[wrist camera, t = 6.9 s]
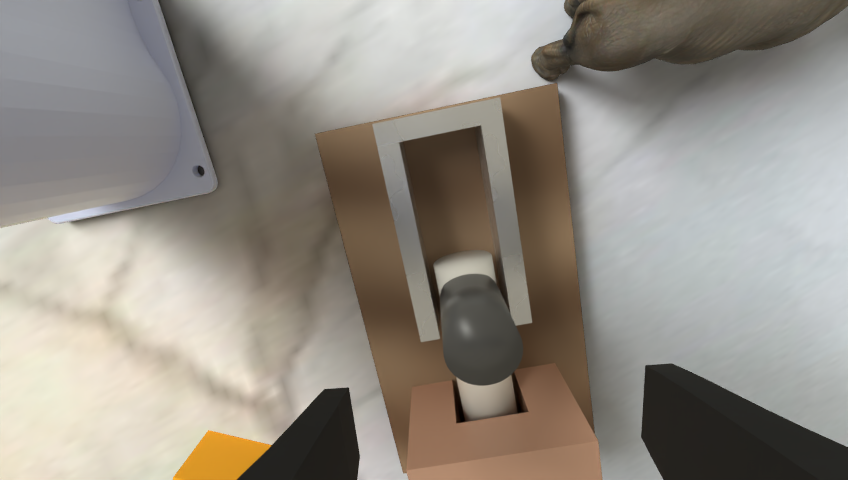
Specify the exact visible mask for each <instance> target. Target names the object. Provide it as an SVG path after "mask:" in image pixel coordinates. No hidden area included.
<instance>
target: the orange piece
mask: <svg viewBox="0 0 848 480" xmlns="http://www.w3.org/2000/svg"><path fill="white" fill-rule="evenodd" d="M271 446H272V445H269V444H264V443H260V442H256V441H252V440H247V439H243V438H239V437H235V436H230V435H226V434H222V433H218V432H213V431H209V430H208V432H207V433H206V434H205V436H204V437H203V438H202V440H201V441H200V442H199V444H198V445H197V446H196V448H195V449H194V450H193V452H192V453H191V454H190V456H189V457H188V458H187V460H186V461H185V462H184V464H183V465H182V466H181V468H180V469H179V470H178V472H177V473H176V474H175V476H174V477H173V480H237V479H238V478H239V477H240V476H241V475H242V474H243V473H244V472H245V471H246V470H247V469H248V468H249V467H250V466H251V465H252V464H253V463H254V462H255V461H256V460H257V459H258V458H259V457H260V456H262V455H263V454H264V453H265V452H266V451H267V450H268V449H269V448H270V447H271Z"/></svg>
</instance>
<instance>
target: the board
mask: <svg viewBox="0 0 848 480" xmlns="http://www.w3.org/2000/svg"><path fill="white" fill-rule="evenodd" d="M499 97H500V100H501V107H502V114H503V121H504V128H505V135H506V142H507V149H508V156H509V163H510V170H511V177H512V184H513V191H514V198H515V205H516V212H517V219H518V226H519V233H520V240H521V247H522V254H523V261H524V268H525V275H526V282H527V289H528V296H529V303H530V310H531V317H532V323H528V324H523V325H517V326H516V327H517V329H518V332H519V334H520V336H521V339H522V343H523V355H522V359H521V362H520V364H519V366H518V367H517V369H522V368H528V367H534V366H540V365H546V364H552V363H555V364H556V366H557V367H558V369H559V371H560V373H561V375H562V376H563V378H564V380H565V382H566V384H567V385H568V387H569V389H570V391H571V393H572V394H573V396H574V398H575V400H576V402H577V403H578V405H579V407H580V409H581V411H582V413H583V414H584V416H585V418H586V420H587V422H588V423H589V425H590V427H591V429H592V431H593V432H594V423H593V414H592V404H591V395H590V386H589V376H588V367H587V358H586V348H585V339H584V330H583V320H582V311H581V302H580V292H579V283H578V274H577V264H576V255H575V246H574V236H573V227H572V218H571V208H570V199H569V190H568V180H567V171H566V162H565V152H564V143H563V134H562V124H561V115H560V106H559V96H558V87H557V83H554V84H550V85H545V86H540V87H535V88H531V89H526V90H521V91H516V92H512V93H507V94H502V95H497V96H493V97H488V98H483V99H478V100H474V101H469V102H464V103H459V104H455V105H450V106H445V107H440V108H436V109H431V110H426V111H421V112H417V113H412V114H407V115H402V116H398V117H393V118H388V119H383V120H379V121H374V122H369V123H364V124H360V125H355V126H350V127H345V128H341V129H336V130H331V131H326V132H322V133H317V134H315V136H316V140H317V144H318V148H319V152H320V156H321V159H322V163H323V167H324V171H325V175H326V179H327V182H328V186H329V190H330V194H331V198H332V202H333V205H334V209H335V213H336V217H337V221H338V225H339V229H340V232H341V236H342V240H343V244H344V248H345V252H346V255H347V259H348V263H349V267H350V271H351V275H352V278H353V282H354V286H355V290H356V294H357V298H358V301H359V305H360V309H361V313H362V317H363V321H364V324H365V328H366V332H367V336H368V340H369V344H370V348H371V351H372V355H373V359H374V363H375V367H376V371H377V374H378V378H379V382H380V386H381V390H382V394H383V397H384V401H385V405H386V409H387V413H388V417H389V420H390V424H391V428H392V432H393V436H394V440H395V443H396V447H397V451H398V455H399V459H400V463H401V466H402V470H403V473H407V471H406V469H407V454H408V439H409V423H410V408H411V393H412V387H414V386H420V385H426V384H432V383H438V382H444V381H450V380H452V382H453V387H454V391H455V396H456V401H457V406H458V411H459V416H460V420H461V423H463V422H465V418H464V413H463V408H462V403H461V398H460V393H459V388H458V384H457V379H456V376H455V375H453V374H452V372H451V371H450V370H449V368H448V367H447V365H446V363H445V359H444V354H443V340H442V325H441V311H440V295H439V290H438V285H437V280H436V276H435V271H434V266H433V265H434V262H435V261H436V260H438V259H439V258H441V257H443V256H446V255H449V254H452V253H455V252H460V251H467V250H483V251H487V252H490V253H491V254H492V259H493V265H494V271H495V278H496V284H497V286H498V288H499V290H500V292H501V289H500V283H499V277H498V271H497V264H496V258H495V252H494V246H493V240H492V233H491V227H490V221H489V215H488V209H487V202H486V196H485V190H484V184H483V178H482V171H481V165H480V159H479V153H478V147H477V140H476V134H475V128H474V127H470V128H465V129H460V130H456V131H451V132H446V133H441V134H436V135H431V136H426V137H422V138H417V139H412V140H407V141H403V145H404V150H405V155H406V160H407V165H408V169H409V174H410V179H411V184H412V189H413V193H414V198H415V203H416V208H417V213H418V218H419V222H420V227H421V232H422V237H423V242H424V247H425V251H426V256H427V261H428V266H429V271H430V276H431V280H432V285H433V290H434V295H435V300H436V305H437V309H438V314H439V329H440V339H437V340H431V341H425V342H421V340H420V336H419V331H418V327H417V322H416V318H415V313H414V309H413V304H412V300H411V295H410V291H409V286H408V282H407V278H406V273H405V269H404V264H403V260H402V255H401V251H400V246H399V242H398V237H397V233H396V228H395V224H394V219H393V215H392V210H391V206H390V202H389V197H388V193H387V188H386V184H385V179H384V175H383V170H382V166H381V161H380V157H379V152H378V148H377V143H376V139H375V134H374V130H373V126H372V124H375V123H380V122H384V121H389V120H394V119H399V118H403V117H408V116H413V115H418V114H423V113H427V112H432V111H437V110H442V109H446V108H451V107H456V106H461V105H465V104H470V103H475V102H480V101H484V100H489V99H494V98H499ZM511 376H512V382H513V388H514V394H515V400H516V406H517V412H518V414H519V413H520V407H519V401H518V395H517V389H516V382H515V376H514V372H513V373H512V374H511ZM594 434H595V432H594Z"/></svg>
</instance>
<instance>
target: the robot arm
mask: <svg viewBox="0 0 848 480" xmlns="http://www.w3.org/2000/svg"><path fill="white" fill-rule="evenodd" d="M199 166H202V167H203V169H204V172H205V173H204V175H203V176H201V175H200V174H199V173H198V167H199ZM217 185H218V181H217V177H216V174H215V171H214V168H213V165H212V162H211V159H210V156H209V153H208V150H207V147H206V144H205V141H204V138H203V135H202V132H201V129H200V126H199V123H198V120H197V117H196V114H195V111H194V107H193V104H192V101H191V98H190V95H189V92H188V89H187V86H186V83H185V80H184V77H183V74H182V71H181V68H180V65H179V62H178V59H177V56H176V53H175V50H174V47H173V44H172V41H171V38H170V35H169V32H168V29H167V26H166V23H165V20H164V17H163V14H162V11H161V8H160V5H159V2H158V0H142V1H140V0H0V228H3V227H8V226H12V225H17V224H21V223H26V222H31V221H35V220H40V219H44V218H48V219H49V220H50V221H51V222H53V223H56V224H61V223H65V222H70V221H75V220H80V219H85V218H90V217H95V216H100V215H105V214H109V213H114V212H119V211H124V210H129V209H134V208H139V207H144V206H149V205H153V204H158V203H163V202H168V201H173V200H178V199H183V198H188V197H193V196H197V195H202V194H207V193H211V192H213V191H215V189H216V188H217ZM641 437H642V439H643V441H644V443H645V445H646V447H647V449H648V451H649V453H650V455H651V457H652V459H653V461H654V463H655V465H656V466H657V468H658V470H659V472H660V474H661V476H662V477H663V479H664V480H848V447H846V446H844V445H841V444H839V443H837V442H835V441H833V440H830V439H828V438H826V437H824V436H821V435H819V434H817V433H815V432H813V431H810V430H808V429H806V428H804V427H802V426H800V425H798V424H795V423H793V422H791V421H789V420H787V419H785V418H783V417H781V416H779V415H777V414H775V413H773V412H770V411H768V410H766V409H764V408H762V407H760V406H758V405H756V404H754V403H752V402H750V401H748V400H746V399H744V398H742V397H740V396H738V395H736V394H734V393H732V392H730V391H728V390H726V389H724V388H722V387H720V386H718V385H716V384H714V383H712V382H710V381H708V380H706V379H704V378H702V377H700V376H698V375H696V374H694V373H692V372H690V371H688V370H685V369H683V368H681V367H679V366H676V365H674V364H659V365H646V366H645V383H644V400H643V417H642V434H641ZM359 459H360V455H359V448H358V442H357V436H356V430H355V424H354V417H353V411H352V405H351V399H350V392H349V388H336V389H324V390H323V391H322V392H321V393H320V394H319V395H318V396H317V398H316V399H315V400H314V401H313V402H312V403H311V404H310V405H309V406H308V407H307V408H306V409H305V411H304V412H303V413H302V414H301V415H300V416H299V417H298V418H297V419H296V420H295V421H294V422H293V424H292V425H291V426H290V427H289V428H288V429H287V430H286V431H285V432H284V433H283V434H282V435H281V436H280V437H279V438H278V439H277V440H276V441H275V443H274V444H273V445H272V446H271V447H270V448H269V449H268V450H267V451H266V452H265V453H264V454H263V455H262V456H260V457H259V458H258V459H257V460H256V461H255V462H254V463H253V464H252V465H251V466H250V467H249V468H248V469H247V470H246V471H245V472H244V473H243V474H242V475H241V476H240V477H239V478H238V479H237V480H357V475H358V467H359Z"/></svg>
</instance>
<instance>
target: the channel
mask: <svg viewBox="0 0 848 480" xmlns="http://www.w3.org/2000/svg"><path fill="white" fill-rule="evenodd" d="M372 126H373V130H374V134H375V139H376V143H377V148H378V152H379V157H380V161H381V166H382V170H383V175H384V179H385V184H386V188H387V193H388V197H389V202H390V206H391V210H392V215H393V219H394V224H395V228H396V233H397V237H398V242H399V246H400V251H401V255H402V260H403V264H404V269H405V273H406V278H407V282H408V286H409V291H410V295H411V300H412V304H413V309H414V313H415V318H416V322H417V327H418V331H419V336H420V340H421V342H425V341H431V340H437V339H440V329H439V314H438V309H437V305H436V300H435V295H434V290H433V285H432V280H431V276H430V271H429V266H428V261H427V256H426V251H425V247H424V242H423V237H422V232H421V227H420V222H419V218H418V213H417V208H416V203H415V198H414V193H413V189H412V184H411V179H410V174H409V169H408V165H407V160H406V155H405V150H404V145H403V141H407V140H412V139H417V138H422V137H426V136H431V135H436V134H441V133H446V132H451V131H456V130H460V129H465V128H470V127H474V128H475V134H476V140H477V147H478V153H479V159H480V165H481V171H482V178H483V184H484V190H485V196H486V202H487V209H488V215H489V221H490V227H491V233H492V240H493V246H494V252H495V258H496V264H497V271H498V277H499V283H500V289H501V294H502V297H503V299H504V301H505V303H506V305H507V308H508V310H509V312H510V314H511V316H512V319H513V321H514V323H515V325H516V326H517V325H523V324H528V323H532V317H531V310H530V303H529V296H528V289H527V282H526V275H525V268H524V261H523V254H522V247H521V240H520V233H519V226H518V219H517V212H516V205H515V198H514V191H513V184H512V177H511V170H510V163H509V156H508V149H507V142H506V135H505V128H504V121H503V114H502V107H501V100H500V97H499V98H494V99H489V100H484V101H480V102H475V103H470V104H465V105H461V106H456V107H451V108H446V109H442V110H437V111H432V112H427V113H423V114H418V115H413V116H408V117H403V118H399V119H394V120H389V121H384V122H380V123H375V124H372Z"/></svg>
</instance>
